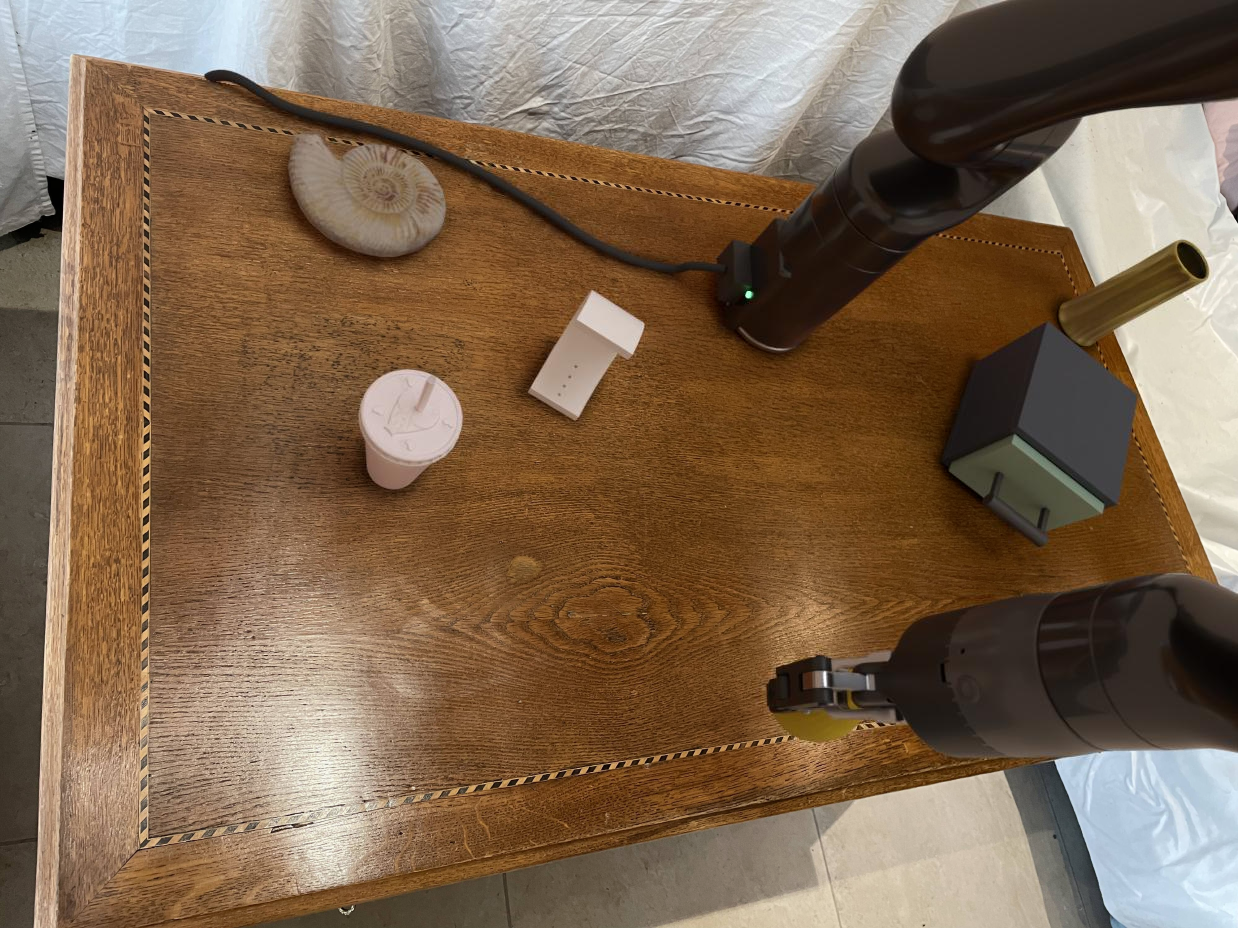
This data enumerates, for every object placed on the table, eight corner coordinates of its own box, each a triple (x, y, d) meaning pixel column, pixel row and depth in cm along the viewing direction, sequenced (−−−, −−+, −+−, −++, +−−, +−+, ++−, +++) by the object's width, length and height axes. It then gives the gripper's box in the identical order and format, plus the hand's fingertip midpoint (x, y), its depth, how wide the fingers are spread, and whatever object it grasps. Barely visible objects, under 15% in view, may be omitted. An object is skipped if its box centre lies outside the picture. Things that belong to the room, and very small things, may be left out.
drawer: (1024, 569, 78) (1095, 549, 71) (937, 503, 76) (1001, 477, 70) (1056, 438, 87) (1122, 410, 80) (979, 377, 85) (1039, 343, 78)
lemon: (771, 757, 55) (843, 757, 48) (736, 682, 56) (802, 672, 49) (826, 721, 58) (902, 716, 51) (792, 650, 59) (862, 636, 52)
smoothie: (454, 471, 60) (500, 395, 47) (388, 524, 56) (420, 457, 44) (396, 409, 59) (428, 317, 47) (327, 458, 56) (342, 373, 44)
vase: (1090, 311, 99) (1206, 245, 87) (1097, 353, 96) (1218, 291, 84) (1054, 297, 97) (1167, 228, 85) (1060, 339, 95) (1178, 274, 82)
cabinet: (1032, 531, 81) (1118, 504, 73) (940, 461, 80) (1017, 425, 71) (1057, 430, 89) (1138, 394, 80) (973, 363, 87) (1047, 320, 79)
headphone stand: (527, 392, 64) (576, 319, 54) (557, 339, 67) (609, 260, 57) (575, 421, 65) (632, 354, 55) (603, 368, 68) (663, 295, 58)
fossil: (287, 241, 58) (288, 107, 58) (286, 260, 63) (287, 136, 63) (452, 258, 63) (452, 135, 63) (440, 275, 67) (440, 160, 68)
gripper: (1100, 616, 43) (890, 652, 58) (889, 586, 38) (717, 634, 53) (1128, 763, 40) (900, 762, 55) (904, 751, 35) (719, 753, 50)
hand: (811, 699), depth 54 cm, fingers closed on lemon, 5 cm apart
